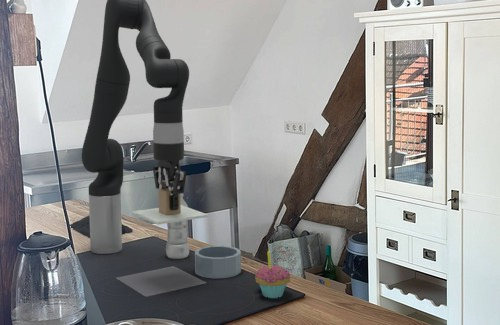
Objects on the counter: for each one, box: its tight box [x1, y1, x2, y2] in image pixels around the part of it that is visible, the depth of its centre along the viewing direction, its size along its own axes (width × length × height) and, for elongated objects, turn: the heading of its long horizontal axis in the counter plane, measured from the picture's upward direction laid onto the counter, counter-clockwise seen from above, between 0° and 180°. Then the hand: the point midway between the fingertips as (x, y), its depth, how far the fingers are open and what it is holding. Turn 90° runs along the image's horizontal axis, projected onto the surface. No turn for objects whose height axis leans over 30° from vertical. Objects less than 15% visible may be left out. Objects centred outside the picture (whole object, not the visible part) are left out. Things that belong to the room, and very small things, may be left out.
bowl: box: [194, 245, 242, 280], centre depth 173 cm, size 12×12×6 cm
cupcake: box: [254, 248, 291, 299], centre depth 157 cm, size 9×8×12 cm
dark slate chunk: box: [69, 214, 133, 239], centre depth 219 cm, size 15×22×5 cm
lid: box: [131, 186, 209, 225], centre depth 164 cm, size 14×14×7 cm
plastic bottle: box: [165, 192, 190, 260], centre depth 185 cm, size 6×7×20 cm
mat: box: [115, 265, 207, 298], centre depth 165 cm, size 17×17×1 cm
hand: (169, 208), depth 164 cm, fingers closed on lid, 4 cm apart
